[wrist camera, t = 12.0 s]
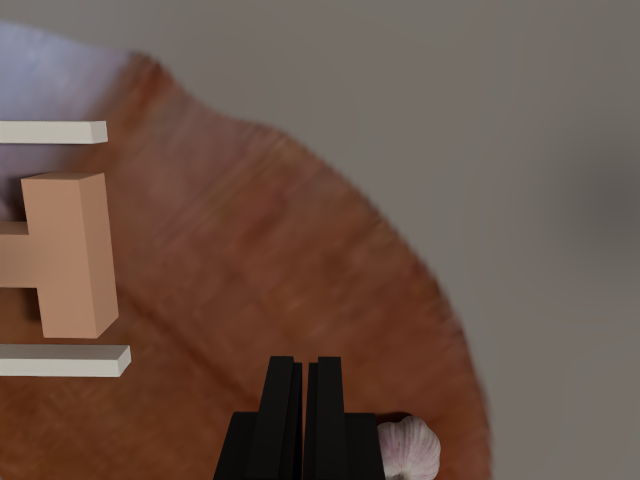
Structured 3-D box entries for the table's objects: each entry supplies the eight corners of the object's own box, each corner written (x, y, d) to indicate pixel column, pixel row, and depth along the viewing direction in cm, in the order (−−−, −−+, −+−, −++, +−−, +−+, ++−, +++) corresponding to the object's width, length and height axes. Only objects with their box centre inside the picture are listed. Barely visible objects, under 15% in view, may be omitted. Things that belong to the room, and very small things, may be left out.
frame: (131, 361, 41) (119, 376, 39) (-43, 359, 41) (-66, 374, 39) (105, 121, 36) (90, 121, 34) (-94, 119, 36) (-124, 120, 34)
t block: (118, 316, 40) (96, 338, 36) (-25, 313, 40) (-62, 335, 37) (104, 172, 37) (78, 179, 33) (-51, 170, 37) (-95, 177, 33)
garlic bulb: (425, 397, 42) (447, 461, 34) (445, 464, 44) (471, 540, 36) (342, 420, 43) (346, 488, 35) (366, 485, 45) (375, 564, 37)
